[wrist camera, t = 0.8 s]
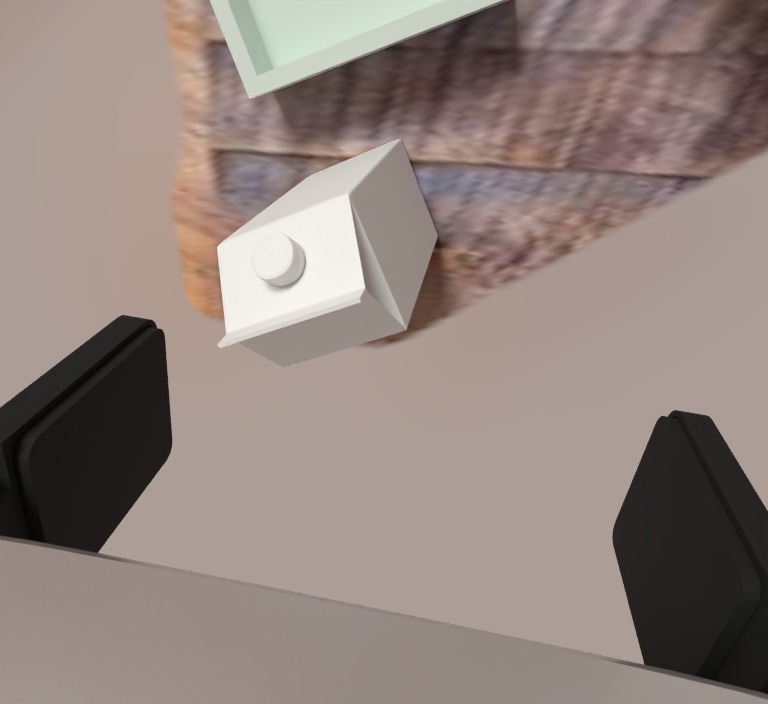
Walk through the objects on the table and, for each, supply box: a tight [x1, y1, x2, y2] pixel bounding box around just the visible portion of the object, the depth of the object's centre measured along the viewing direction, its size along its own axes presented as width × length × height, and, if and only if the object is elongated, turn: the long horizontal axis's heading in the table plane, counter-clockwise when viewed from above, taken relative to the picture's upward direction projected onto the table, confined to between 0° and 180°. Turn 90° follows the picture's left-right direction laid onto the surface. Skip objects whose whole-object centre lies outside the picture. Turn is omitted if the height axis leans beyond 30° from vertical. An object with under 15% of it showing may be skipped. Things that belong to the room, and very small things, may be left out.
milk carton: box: [217, 139, 438, 367], centre depth 33 cm, size 7×7×19 cm
